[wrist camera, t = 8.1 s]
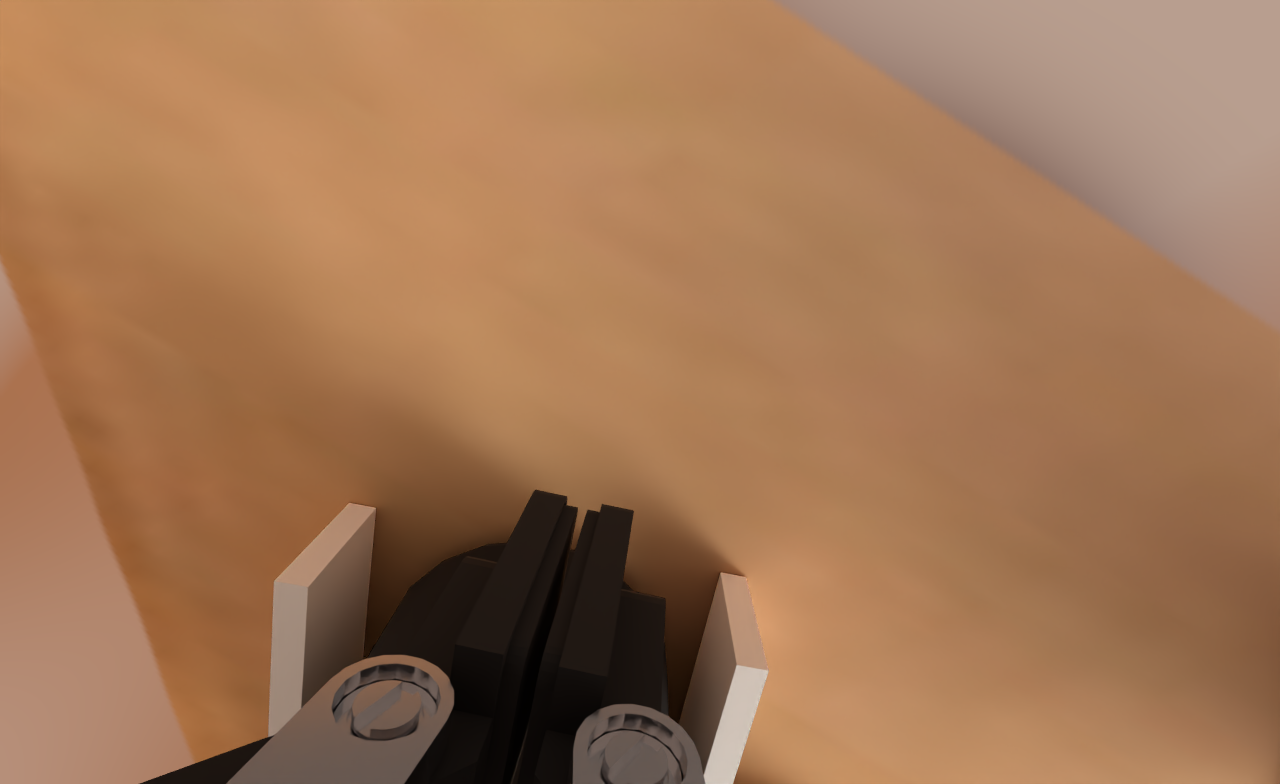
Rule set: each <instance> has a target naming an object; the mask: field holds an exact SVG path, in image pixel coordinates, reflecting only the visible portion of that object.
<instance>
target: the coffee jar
mask: <svg viewBox="0 0 1280 784" xmlns="http://www.w3.org/2000/svg"><path fill="white" fill-rule="evenodd" d="M506 544H507V543H500V544H488V545H485V546H482V547H480V548H477V549H474V550H471V551H469V552H466V553H463V554H460V555H457V556H455V557H452V558H449V559H447V560H445V561H443V562H441V563H440V564H439V565H438V566H436V567H435V568H434V569H432V570H431V571H430V572H429V573H427V574H426V575H425V576H424V577H422V578H421V579H420V580H419V581H417V582H416V583H415V584H414V585H412V586H411V587H410V588H409V590H408V591H407V593H406V595H405V596H404V598H403V600H402V601H401V603H400V605H399V606H398V608H397V610H396V611H395V613H394V615H393V616H392V618H391V620H390V621H389V623H388V624H387V626H386V628H385V629H384V631H383V633H382V634H381V636H380V638H379V639H378V641H377V643H376V644H375V646H374V648H373V649H372V651H371V653H370V654H369V656H368V657H367V659H368V658H372V657H377V656H382V655H404V654H405V652H406V651H407V649H408V648H409V646H410V644H411V643H412V641H413V639H414V638H415V636H416V635H417V633H418V631H419V630H420V628H421V627H422V625H423V623H424V622H425V620H426V618H427V617H428V615H429V614H430V612H431V610H432V609H433V607H434V605H435V604H436V602H437V601H438V599H439V597H440V596H441V594H442V592H443V591H444V589H445V588H446V586H447V584H448V583H449V581H450V580H451V578H452V576H453V575H454V573H455V571H456V570H457V568H458V567H459V565H460V563H461V562H462V560H463V559H464V558H465V557H467V556H470V557H475V558H480V559H484V560H489V561H494V562H498V560H499V558H500V556H501V554H502V552H503V550H504V548H505V546H506ZM574 552H575V551H574V550H570V553H569V558H568V563H567V568H566V574H565V579H564V584H563V588H564V585H565V581H566V578H567V575H568V572H569V568H570V565H571V562H572V559H573V556H574ZM622 589H625V590H629V591H633V590H632V589H631V588H630V587H629V586H628V585H627V584H626V583H625V582H624V581H623V582H622ZM562 591H563V589H562ZM661 713H663V714H665V715H667V716H669V707H668V678H667V665H666V651H665V642H664V655H663V679H662V702H661ZM526 735H527V734H526ZM525 740H526V737H525ZM524 745H525V741H524V744H523V748H522V751H521V754H520V758H519V761H518V765H517V768H516V771H515V775H514V778H513V782H512V784H517V782H518V777H519V772H520V766H521V761H522V756H523V751H524Z"/></svg>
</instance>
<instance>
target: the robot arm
mask: <svg viewBox="0 0 1280 784" xmlns="http://www.w3.org/2000/svg"><path fill="white" fill-rule="evenodd" d="M577 511H578V508H577V507H572V506H568V505H567V496H562V495H558V494H553V493H548V492H544V491H539V490H535V491H534V492H533V494H532V496H531V498H530V500H529V502H528V504H527V506H526V508H525V509H524V511H523V513H522V515H521V517H520V519H519V521H518V523H517V525H516V527H515V529H514V531H513V533H512V535H511V537H510V539H509V540H508V542H507V544H506V546H505V548H504V550H503V552H502V554H501V556H500V558H499V560H498V562H494V561H489V560H484V559H480V558H475V557H470V556H467V557H465V558H464V559H463V560H462V562H461V563H460V565H459V567H458V568H457V570H456V571H455V573H454V575H453V576H452V578H451V580H450V581H449V583H448V584H447V586H446V588H445V589H444V591H443V592H442V594H441V596H440V597H439V599H438V601H437V602H436V604H435V605H434V607H433V609H432V610H431V612H430V614H429V615H428V617H427V618H426V620H425V622H424V623H423V625H422V627H421V628H420V630H419V631H418V633H417V635H416V636H415V638H414V639H413V641H412V643H411V644H410V646H409V648H408V649H407V651H406V652H405V654H404V655H382V656H377V657H372V658H368V659H364V660H361V661H359V662H357V663H355V664H352V665H350V666H348V667H346V668H344V669H343V670H342V671H340V672H339V673H338V674H336V675H335V676H334V677H333V678H331V679H330V680H329V681H328V682H327V683H326V684H325V685H324V686H323V687H322V688H321V689H320V690H319V691H318V692H317V693H316V694H315V695H314V696H313V697H312V698H311V699H310V700H309V701H308V702H307V703H306V704H305V705H304V706H303V707H302V708H301V709H300V710H299V711H298V712H297V713H296V714H295V715H294V716H293V717H292V718H291V719H290V720H289V721H288V722H287V723H286V724H285V725H284V726H283V727H282V728H281V729H280V730H279V731H278V732H277V733H276V734H275V735H273V736H270V737H267V738H264V739H262V740H259V741H256V742H253V743H251V744H248V745H245V746H242V747H240V748H237V749H234V750H231V751H228V752H226V753H223V754H220V755H217V756H215V757H212V758H209V759H206V760H204V761H201V762H198V763H195V764H193V765H190V766H187V767H184V768H182V769H179V770H176V771H173V772H170V773H168V774H165V775H162V776H159V777H157V778H154V779H151V780H148V781H146V782H143V783H140V784H512V782H513V778H514V775H515V771H516V768H517V765H518V761H519V758H520V754H521V751H522V748H523V744H524V741H525V745H524V751H523V756H522V761H521V766H520V772H519V777H518V782H517V784H705V780H704V775H703V770H702V765H701V760H700V757H699V754H698V752H697V749H696V746H695V744H694V742H693V740H692V739H691V738H690V736H689V735H688V734H687V733H686V731H685V730H684V729H683V727H681V726H680V725H679V724H678V723H676V722H675V721H674V720H672V719H671V718H670V717H669V716H667V715H665V714H663V713H661V702H662V679H663V655H664V632H665V608H666V600H665V598H662V597H657V596H653V595H648V594H643V593H639V592H634V591H629V590H625V589H622V582H623V576H624V570H625V563H626V557H627V551H628V545H629V538H630V532H631V526H632V519H633V513H634V511H633V510H628V509H623V508H619V507H614V506H609V505H604V504H602V507H601V510H600V512H596V511H591V510H588V511H587V514H586V517H585V520H584V523H583V526H582V530H581V533H580V536H579V539H578V543H577V546H576V549H575V552H574V556H573V559H572V562H571V565H570V568H569V572H568V575H567V578H566V581H565V585H564V588H563V584H564V579H565V574H566V568H567V563H568V558H569V553H570V548H571V543H572V537H573V532H574V527H575V522H576V517H577ZM562 589H563V591H562ZM526 734H527V735H526ZM525 737H526V740H525Z"/></svg>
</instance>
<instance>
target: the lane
mask: <svg viewBox="0 0 1280 784" xmlns="http://www.w3.org/2000/svg"><path fill="white" fill-rule="evenodd" d="M375 517H376V508H374V507H369V506H364V505H358V504H353V503H348V504H347V506H346V507H345V508H344V509H343V510H342V511H341V512H340V513H339V514H338V515H337V516H336V517H335V518H334V519H333V520H332V521H331V522H330V523H329V524H328V525H327V526H326V527H325V528H324V529H323V530H322V532H321V533H320V534H319V535H318V536H317V537H316V538H315V539H314V540H313V541H312V542H311V543H310V544H309V545H308V546H307V547H306V548H305V549H304V550H303V551H302V552H301V553H300V554H299V555H298V557H297V558H296V559H295V560H294V561H293V562H292V563H291V564H290V565H289V566H288V567H287V568H286V569H285V570H284V571H283V572H282V573H281V574H280V575H279V576H278V577H277V578H276V579H275V580H274V594H273V620H272V647H271V673H270V700H269V726H268V737H270V736H273V735H275V734H276V733H277V732H278V731H279V730H280V729H281V728H282V727H283V726H284V725H285V724H286V723H287V722H288V721H289V720H290V719H291V718H292V717H293V716H294V715H295V714H296V713H297V712H298V711H299V710H300V709H301V708H302V707H303V706H304V705H305V704H306V703H307V702H308V701H309V700H310V699H311V698H312V697H313V696H314V695H315V694H316V693H317V692H318V691H319V690H320V689H321V688H322V687H323V686H324V685H325V684H326V683H327V682H328V681H329V680H330V679H331V678H333V677H334V676H335V675H336V674H338V673H339V672H340V671H342V670H343V669H344V668H346V667H348V666H350V665H352V664H355V663H357V662H359V661H361V660H363V651H364V640H365V629H366V618H367V606H368V595H369V584H370V573H371V562H372V550H373V539H374V528H375ZM768 672H769V669H768V665H767V661H766V657H765V653H764V648H763V644H762V640H761V636H760V632H759V628H758V624H757V620H756V615H755V611H754V607H753V603H752V599H751V595H750V591H749V586H748V582H747V578H746V577H743V576H738V575H732V574H727V573H722V572H720V576H719V579H718V583H717V587H716V590H715V594H714V597H713V601H712V605H711V608H710V612H709V616H708V619H707V623H706V626H705V630H704V634H703V637H702V641H701V645H700V648H699V652H698V656H697V659H696V663H695V666H694V670H693V674H692V677H691V681H690V685H689V688H688V692H687V696H686V699H685V703H684V706H683V710H682V714H681V717H680V721H679V725H680V726H681V727H683V729H684V730H685V731H686V733H687V734H688V735H689V736H690V738H691V739H692V740H693V742H694V744H695V746H696V749H697V752H698V754H699V757H700V760H701V765H702V770H703V775H704V780H705V784H733V782H734V779H735V776H736V773H737V769H738V766H739V763H740V760H741V757H742V754H743V751H744V747H745V744H746V741H747V738H748V735H749V732H750V728H751V725H752V722H753V719H754V716H755V713H756V710H757V706H758V703H759V700H760V697H761V694H762V691H763V688H764V684H765V681H766V678H767V675H768Z"/></svg>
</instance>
